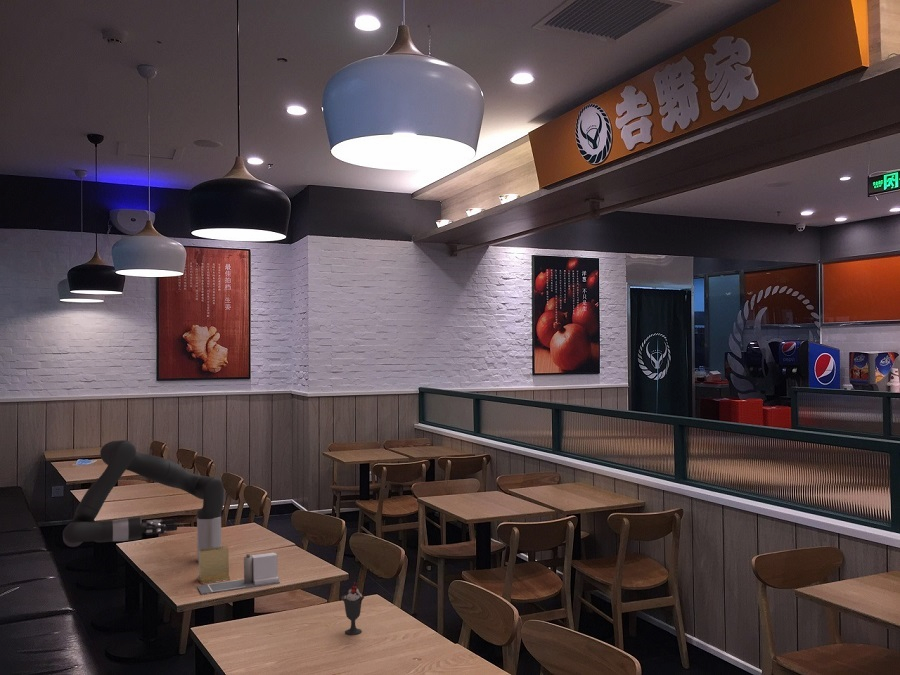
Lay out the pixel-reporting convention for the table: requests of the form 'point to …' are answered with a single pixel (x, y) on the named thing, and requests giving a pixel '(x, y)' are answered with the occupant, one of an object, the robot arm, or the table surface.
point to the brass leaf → (213, 564)
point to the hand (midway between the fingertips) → (175, 524)
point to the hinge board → (249, 574)
